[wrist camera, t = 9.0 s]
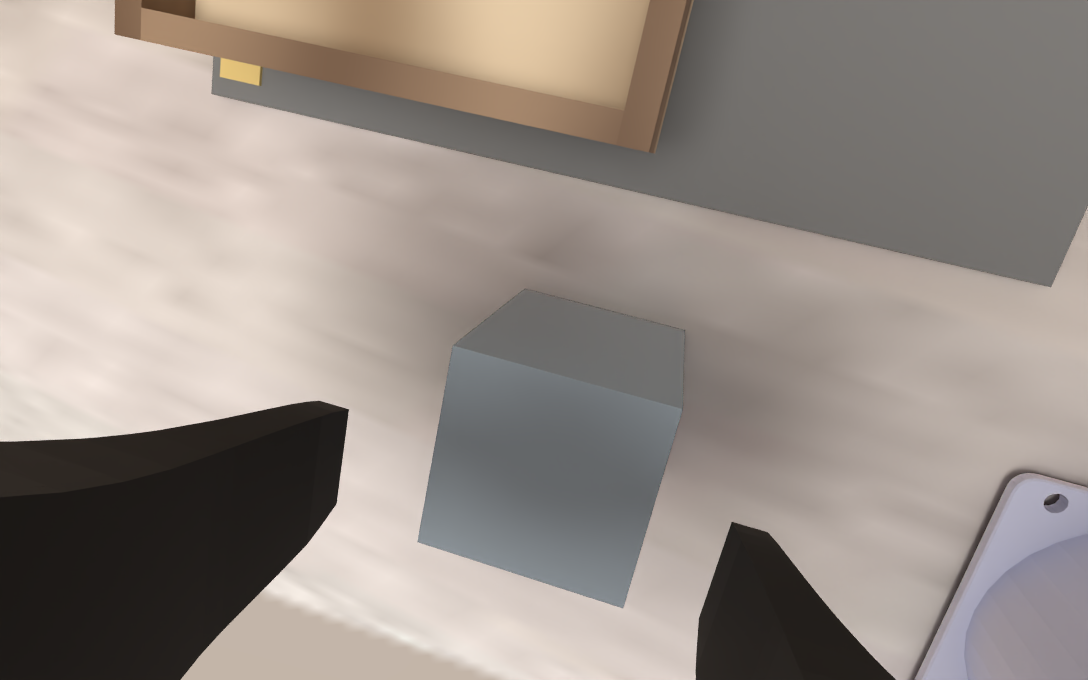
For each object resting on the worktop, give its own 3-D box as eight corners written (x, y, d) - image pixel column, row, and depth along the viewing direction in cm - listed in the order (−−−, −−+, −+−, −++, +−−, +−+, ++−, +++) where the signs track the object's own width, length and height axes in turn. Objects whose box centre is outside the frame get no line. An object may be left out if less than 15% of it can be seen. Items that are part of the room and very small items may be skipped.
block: (684, 329, 18) (683, 409, 12) (642, 475, 19) (623, 608, 14) (525, 288, 18) (452, 345, 13) (494, 432, 20) (417, 541, 14)
